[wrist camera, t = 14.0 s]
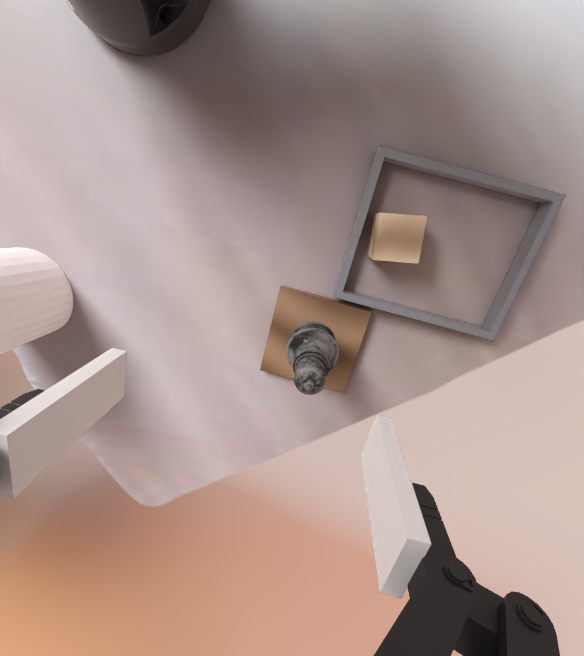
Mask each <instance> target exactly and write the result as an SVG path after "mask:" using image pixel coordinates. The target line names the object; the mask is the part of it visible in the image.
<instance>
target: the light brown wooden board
mask: <svg viewBox="0 0 584 656" xmlns="http://www.w3.org/2000/svg"><path fill="white" fill-rule="evenodd" d="M371 313H372V312H371V310H370V309H366V308H363V307H359V306H355V305H352V304H348V303H344V302H341V301H337V300H333V299H329V298H326V297H322V296H318V295H315V294H311V293H307V292H304V291H300V290H296V289H293V288H289V287H285V286H281V287H280V291H279V295H278V299H277V303H276V307H275V311H274V315H273V319H272V323H271V327H270V332H269V336H268V340H267V344H266V348H265V352H264V356H263V360H262V364H261V368H260V370H262V371H266V372H269V373H273V374H276V375H280V376H284V377H287V378H291V379H294V377H295V374H294V371H293V368H292V367H291V365H290V364H289V362H288V360H287V356H286V348H287V344H288V342H289V340H290V338H291V337H292V336H293V334H294V332H295V330H296V329H297V328H298V327H299V326H300V325H302V324H303V323H306V322H310V321H316V322H321V323H323V324H325V325H327V326H328V327H329V328H330V329H331V331H332V332H333V334H334V337H335V341H336V342H337V345H338V348H339V357H338V361H337V363H336V365H335V367H334V368H333V369H332V370H331V371H330V372H328V375H327V376H326V378H325V385H324V388H327V389H331V390H335V391H338V392H342V393H344V391H345V388H346V385H347V382H348V379H349V376H350V373H351V371H352V368H353V365H354V362H355V359H356V356H357V353H358V351H359V348H360V345H361V342H362V339H363V336H364V333H365V330H366V328H367V325H368V322H369V319H370V316H371Z"/></svg>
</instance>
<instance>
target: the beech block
mask: <svg viewBox="0 0 584 656" xmlns="http://www.w3.org/2000/svg"><path fill="white" fill-rule="evenodd" d="M427 217H428V216H420V215H407V214H393V213H376V214H373V220H372V227H371V234H370V241H369V248H368V255H367V256H368V257H370V258H371V259H372V260H381V261H393V262H405V263H417V264H418V263H419V258H420V253H421V248H422V243H423V238H424V232H425V227H426V222H427Z"/></svg>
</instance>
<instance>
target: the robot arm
mask: <svg viewBox="0 0 584 656" xmlns="http://www.w3.org/2000/svg"><path fill="white" fill-rule="evenodd" d="M209 1H210V0H66V2H67V3H68V5H69V6H70V7H71V9H72V10H73V11H74V12H75V14H76V15H77V16H78V17H79V18H80V19H81V20H82V22H83V23H85V24H86V25H87V26H88V27H89V28H90V29H91V30H92V31H94V32H95V33H96V34H97V35H98V36H100V37H101V38H102V39H103V40H104V41H106V42H107V43H108V44H110V45H112V46H113V47H115V48H117V49H119V50H121V51H123V52H126V53H129V54H133V55H140V56H151V55H158V54H161V53H164V52H167V51H169V50H171V49H173V48H175V47H177V46H178V45H179V44H181V43H182V42H183V41H184V40H186V39H187V38H188V37H189V36H190V35H191V33H192V32H193V31H194V30H195V28H196V27H197V26H198V24H199V22H200V21H201V19H202V17H203V15H204V13H205V11H206V9H207V6H208V4H209ZM126 355H127V351H123V350H119V349H115V348H111V349H109V350H108V351H106V352H105V353H103V354H102V355H100V356H99V357H97V358H95V359H94V360H92V361H91V362H89V363H88V364H86V365H84V366H83V367H81V368H80V369H78V370H77V371H75V372H73V373H72V374H70V375H69V376H67V377H66V378H64V379H63V380H61V381H59V382H58V383H56V384H55V385H53V386H52V387H50V388H48V389H47V390H41V389H37V390H34V391H31V392H28V393H26V394H23V395H22V396H20V397H18V398H16V399H15V400H13V401H11V403H8V404H7V405H5V406H3V407H2V408H1V409H0V495H3V496H7V497H10V498H15V497H16V496H17V495H18V494H19V493H20V492H21V491H22V490H23V489H24V488H25V487H27V486H28V485H29V484H30V483H31V482H32V481H33V480H34V479H35V478H36V477H37V476H39V475H40V474H41V473H42V472H43V471H44V470H45V469H46V468H47V467H48V466H49V465H51V464H52V463H53V462H54V461H55V460H56V459H57V458H58V457H59V456H60V455H61V454H62V453H64V452H65V450H67V449H68V448H69V447H70V446H71V445H72V444H73V443H74V442H75V441H77V439H79V438H80V437H81V436H82V435H83V434H84V433H85V432H86V431H87V430H89V429H90V428H91V427H92V426H93V425H94V424H95V423H96V422H97V421H98V420H99V419H100V418H102V417H103V416H104V415H105V414H106V413H107V412H108V411H109V410H110V409H111V408H112V407H113V406H115V405H116V404H117V403H118V402H119V401H120V400H121V399H122V398H123V397H124V396H125V376H126ZM360 459H361V466H362V473H363V480H364V487H365V494H366V500H367V507H368V514H369V521H370V528H371V535H372V542H373V548H374V556H375V562H376V569H377V576H378V583H379V590H380V593H383V594H387V595H391V596H395V597H399V598H402V596H403V594H404V593H405V591H406V589H407V587H408V591H409V596H410V599H409V601H408V602H407V604H406V606H405V607H404V609H403V610H402V612H401V613H400V615H399V617H398V618H397V620H396V621H395V623H394V625H393V626H392V628H391V629H390V631H389V632H388V634H387V636H386V637H385V639H384V640H383V642H382V644H381V645H380V647H379V648H378V650H377V651H376V653H375V655H374V656H451V654H452V651H453V649H454V650H456V651H457V652H458V653H460V654H462V655H463V656H560V654H559V648H558V641H557V636H556V632H555V629H554V626H553V624H552V622H551V620H550V619H549V617H548V616H547V614H546V613H545V612H544V611H543V610H542V609H541V608H540V607H539V605H538V604H537V603H535V602H534V601H533V600H531V599H530V598H529V597H527V596H525V595H523V594H521V593H519V592H510V593H508V594H507V595H506V596H505V597H504V598H502V597H500V596H499V595H497V594H495V593H493V592H492V591H490V590H488V589H486V588H484V587H483V586H481V585H480V584H478V583H477V582H476V579H475V577H474V576H473V574H472V572H471V571H470V569H468V567H467V566H466V565H465V564H464V563H463V562H461V561H460V560H459V559H457V558H456V555H455V553H454V550H453V548H452V545H451V542H450V539H449V537H448V534H447V532H446V529H445V526H444V524H443V521H441V516H440V513H439V511H438V508H437V506H436V503H435V500H434V498H433V496H432V495H431V493H430V492H429V491H428V490H427V488H426V487H425V486H423V485H419V484H415V483H412V482H411V479H410V476H409V473H408V470H407V466H406V463H405V460H404V457H403V454H402V451H401V448H400V445H399V442H398V438H397V436H396V432H395V429H394V426H393V423H392V420H391V418H390V417H387V416H383V415H379V414H376V415H375V418H374V421H373V423H372V426H371V429H370V431H369V434H368V436H367V439H366V441H365V444H364V447H363V449H362V452H361V455H360Z"/></svg>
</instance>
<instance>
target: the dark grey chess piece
mask: <svg viewBox="0 0 584 656" xmlns="http://www.w3.org/2000/svg"><path fill="white" fill-rule="evenodd" d="M286 356H287V360H288V362H289V364H290V365H291V367H292V368H293V371H294V374H295V377H294V382H295V385H296V387H297V389H298V390H299V391H300V392H302V393H304V394H308V395H313V394H316V393H318V392H320V391H321V390H322V389H323V387H324V385H325V378H326V376H327V375H328V372H330V371H331V370H332V369H333V368H334V367H335V365H336V363H337V361H338V357H339V348H338V345H337V342H336V341H335V337H334V334H333V332H332V331H331V329H330V328H329V327H328V326H327V325H325V324H323V323H321V322H316V321H310V322H306V323H303V324H302V325H300V326H299V327H298V328H297V329H296V330H295V332H294V334H293V336H292V337H291V338H290V340H289V342H288V344H287V348H286Z"/></svg>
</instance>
